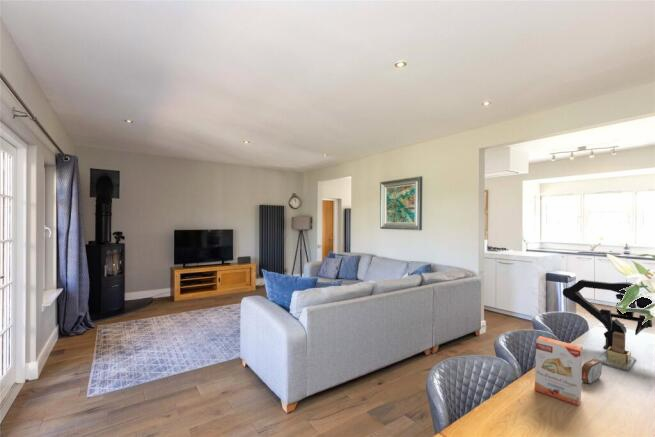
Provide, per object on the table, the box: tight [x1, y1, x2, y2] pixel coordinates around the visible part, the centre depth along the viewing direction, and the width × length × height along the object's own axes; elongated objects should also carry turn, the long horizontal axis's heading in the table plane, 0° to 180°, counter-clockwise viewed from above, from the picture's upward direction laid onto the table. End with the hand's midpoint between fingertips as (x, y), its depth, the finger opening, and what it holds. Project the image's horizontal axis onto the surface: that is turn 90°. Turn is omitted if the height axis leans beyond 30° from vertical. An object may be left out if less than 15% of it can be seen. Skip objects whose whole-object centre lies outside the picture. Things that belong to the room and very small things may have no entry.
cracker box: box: [534, 335, 583, 407], centre depth 121 cm, size 14×6×21 cm, turn 44°
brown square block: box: [612, 332, 626, 354], centre depth 152 cm, size 4×4×12 cm
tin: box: [581, 358, 603, 385], centre depth 133 cm, size 15×3×8 cm, turn 120°
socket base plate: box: [597, 346, 637, 372], centre depth 152 cm, size 20×11×5 cm, turn 128°
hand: (622, 332), depth 154 cm, fingers open, 9 cm apart
